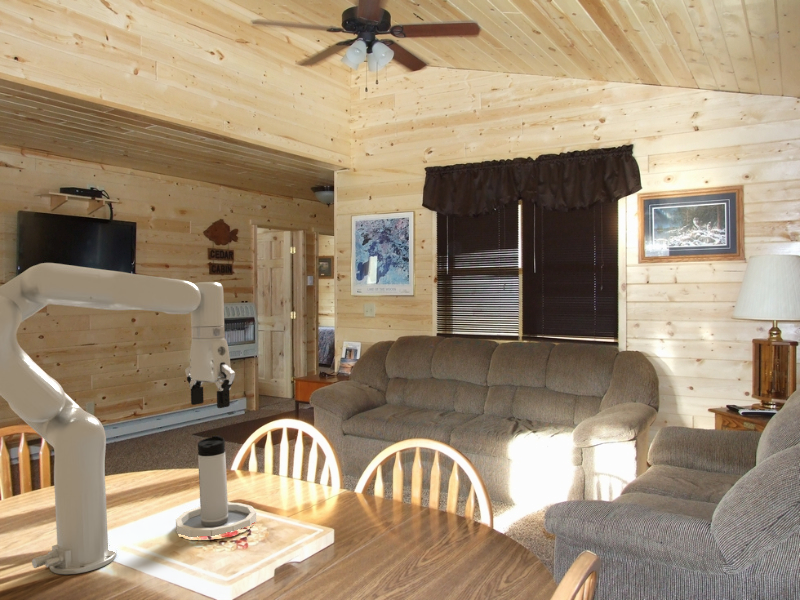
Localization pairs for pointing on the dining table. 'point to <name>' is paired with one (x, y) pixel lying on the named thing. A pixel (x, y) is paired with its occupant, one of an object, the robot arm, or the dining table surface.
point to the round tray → (192, 526)
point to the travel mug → (213, 481)
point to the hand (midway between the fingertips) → (210, 405)
